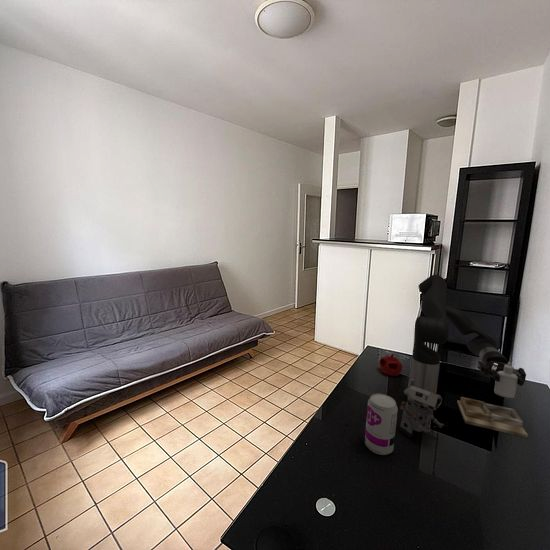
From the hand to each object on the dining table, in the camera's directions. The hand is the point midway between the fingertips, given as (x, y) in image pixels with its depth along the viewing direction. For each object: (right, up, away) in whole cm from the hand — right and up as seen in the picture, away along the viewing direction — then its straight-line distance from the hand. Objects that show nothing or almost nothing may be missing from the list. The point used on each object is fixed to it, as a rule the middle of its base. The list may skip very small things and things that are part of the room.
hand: (509, 381), depth 96 cm
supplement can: (-47, -16, -10) cm, 51 cm away
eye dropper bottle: (+1, -6, +3) cm, 7 cm away
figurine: (-32, -16, -4) cm, 36 cm away
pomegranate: (-26, -10, +36) cm, 45 cm away
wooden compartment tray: (-3, -15, +5) cm, 16 cm away
